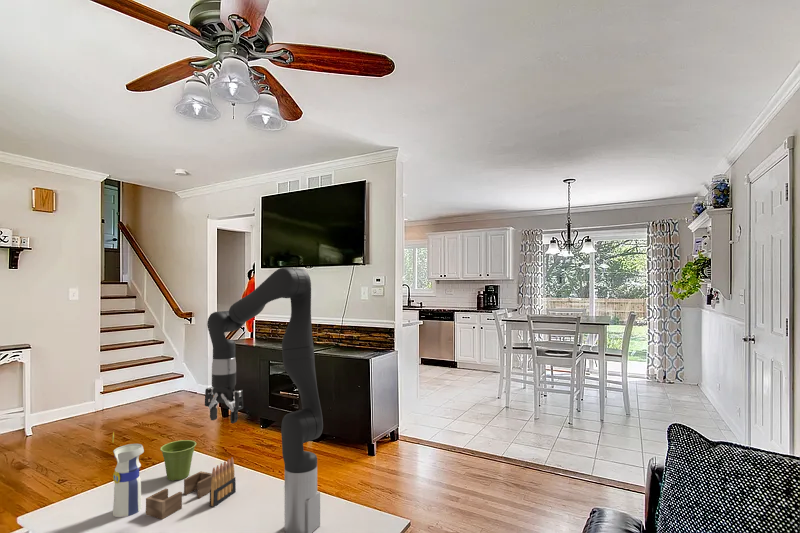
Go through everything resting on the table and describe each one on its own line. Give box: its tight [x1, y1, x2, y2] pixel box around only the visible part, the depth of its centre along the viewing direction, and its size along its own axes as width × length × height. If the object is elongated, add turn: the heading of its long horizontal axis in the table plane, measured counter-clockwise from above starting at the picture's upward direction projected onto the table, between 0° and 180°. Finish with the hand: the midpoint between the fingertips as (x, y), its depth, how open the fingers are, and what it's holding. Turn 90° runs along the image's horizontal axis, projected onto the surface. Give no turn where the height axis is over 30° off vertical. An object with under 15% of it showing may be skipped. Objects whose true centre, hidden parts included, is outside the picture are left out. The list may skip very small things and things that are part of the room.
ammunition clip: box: [209, 456, 237, 508], centre depth 145 cm, size 11×2×12 cm, turn 163°
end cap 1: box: [145, 488, 183, 520], centre depth 137 cm, size 7×7×5 cm
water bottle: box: [111, 431, 145, 518], centre depth 138 cm, size 8×9×25 cm
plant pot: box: [160, 439, 197, 482], centre depth 162 cm, size 12×12×11 cm
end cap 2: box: [183, 470, 212, 499], centre depth 150 cm, size 7×7×5 cm
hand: (223, 421), depth 146 cm, fingers open, 8 cm apart
